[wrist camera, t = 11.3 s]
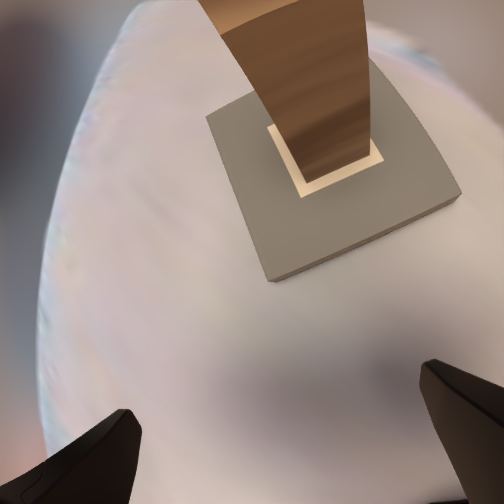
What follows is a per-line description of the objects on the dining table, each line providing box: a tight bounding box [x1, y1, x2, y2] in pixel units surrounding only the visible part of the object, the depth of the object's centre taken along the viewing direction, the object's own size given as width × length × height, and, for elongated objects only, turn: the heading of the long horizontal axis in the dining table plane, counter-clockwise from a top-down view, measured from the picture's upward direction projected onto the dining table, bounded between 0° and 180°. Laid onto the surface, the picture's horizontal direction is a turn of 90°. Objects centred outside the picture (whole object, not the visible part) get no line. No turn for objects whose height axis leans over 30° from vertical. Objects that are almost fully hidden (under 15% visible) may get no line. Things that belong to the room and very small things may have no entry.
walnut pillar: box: [198, 0, 370, 183], centre depth 13 cm, size 5×5×13 cm
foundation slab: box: [206, 57, 462, 282], centre depth 20 cm, size 14×14×2 cm
